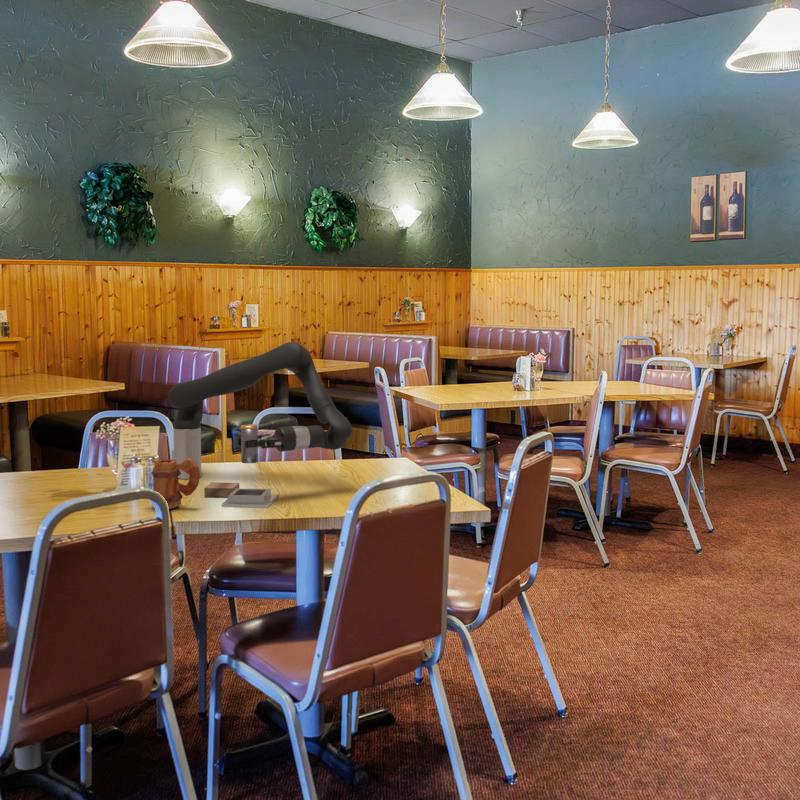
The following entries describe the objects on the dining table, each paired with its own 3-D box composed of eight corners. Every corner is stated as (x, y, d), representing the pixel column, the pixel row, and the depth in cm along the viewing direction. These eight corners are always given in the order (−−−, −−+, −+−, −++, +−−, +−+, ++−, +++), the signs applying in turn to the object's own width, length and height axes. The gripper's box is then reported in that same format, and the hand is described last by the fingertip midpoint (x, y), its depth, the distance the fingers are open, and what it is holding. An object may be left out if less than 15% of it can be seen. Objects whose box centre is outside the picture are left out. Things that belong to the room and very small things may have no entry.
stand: (204, 497, 281) (204, 487, 281) (211, 491, 290) (211, 482, 290) (233, 497, 280) (232, 488, 280) (239, 491, 289) (239, 482, 289)
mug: (146, 510, 263) (145, 459, 261) (157, 504, 271) (156, 455, 269) (194, 512, 261) (193, 461, 259) (204, 506, 269) (203, 456, 267)
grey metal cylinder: (239, 463, 271) (239, 426, 270) (243, 460, 276) (242, 424, 275) (256, 463, 271) (255, 426, 270) (259, 460, 276) (259, 424, 275)
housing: (221, 506, 268) (221, 496, 268) (232, 496, 282) (232, 487, 282) (268, 507, 267) (268, 497, 267) (276, 497, 281) (276, 488, 281)
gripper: (282, 423, 286) (231, 427, 277) (302, 429, 274) (250, 433, 265) (282, 447, 287) (232, 452, 278) (302, 453, 275) (250, 458, 266)
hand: (241, 443), depth 271 cm, fingers closed on grey metal cylinder, 5 cm apart
